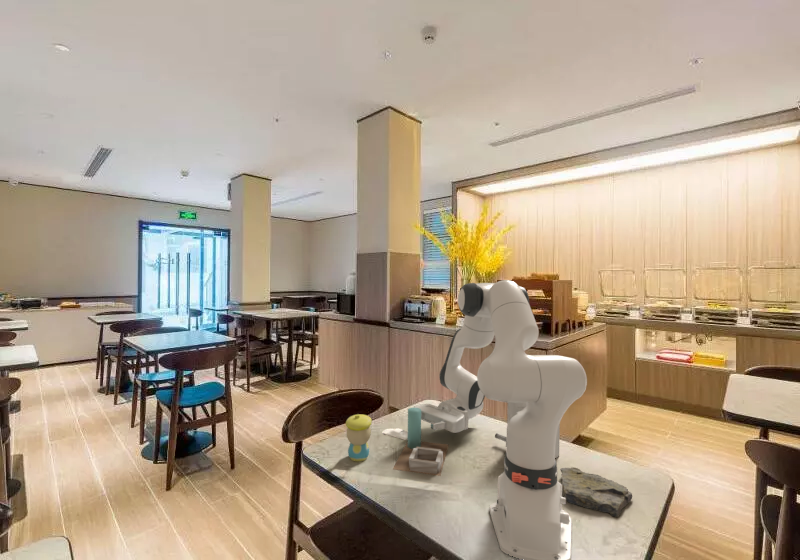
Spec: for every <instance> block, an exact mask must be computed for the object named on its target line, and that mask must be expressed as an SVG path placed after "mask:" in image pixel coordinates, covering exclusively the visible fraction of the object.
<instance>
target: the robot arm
mask: <svg viewBox="0 0 800 560" xmlns="http://www.w3.org/2000/svg"><path fill="white" fill-rule="evenodd" d="M457 304H458V309H459V311H460V312H461V314H463V315H464V319H463V324H462V327H461V328H458V329H457V330H456V331H455V332H454V334H453V336H452V339H451V342H450V345H449V348H448V351H447V354H446V358H445V361H444V363H443V366H441V369H440V371H439V382H440V384H441V386H442V387H444V388H446V389H447V390H450V391H451V392H452V393H454V394H455V395H456V397H454V398H450V399H446V400H443V401H441V402H439V404H438V405H433V404H432V403H421V404H418V405H417V404H416V405H414V406H413V407H412V408H419V409H421V421H424V422H426V423H428V424H430V429H431V430H433V431H437V430H445V431H449V432H450V433H453V434H455V433H456V434H457V433H460V432H462V431H465V430H468V429H469V420H471V419H473V418H474V417H476V416H477V415H479V414H480V413H481V412H482V410H483V409H484V400H485V398H486V399H488V400H491V401H496V402H502V403H507V404H508V403H515V402H528V404H527V406H526V407H525V409H524V410H523V411H521V412H520V413H518V414H517V415H515V416H513V417H512V418H511V419H510V421H509V423H508V425H507V426H506V437H507V447H506V452H505V453H504V457H503V459H504V460H503V465H504V466H503V467H504V468H503V469H504V471H503V472H502V473H500V475H498V477H497V497H496V498H497V499H496V502H493V503H491V504H490V505H489V508H488V509H489V510H488V511H489V514H490V518H491V521H492V525H493V528H494V532H495V535H496V539H497V540H498V541H497V542H498V545H499V548H500V551H501V552H503V553H504V554H506V555H508V554H509V555H508V556H510V557H512V556H513V557H512V558H514V557H516V558H515V559H517V558H519V559H518V560H520V559H524V560H572V545H573V543H572V542H573V541H572V540H573V539H572V538H573V537H572V536H573V520H572V517H571V516H570V513H569V512H567V511H566V510H564V509H563V505H566V504H567V503H566V502H567V500H566V498H565V496H564V497H563V488H562V483H561V482H559V481H558V464H557V461H556V459H555V446H556V434H557V429H558V426H559V423H560V424H561V421H562V418H563V417H564V415H565V414H566V412H567V410H568V409H569V408H570V407H571V406H572V404H573V403H574V402H576V401H577V400H578V399H580V398H581V397H582V396H583V395H584V394H585V391H586V389H587V387H588V386H587V385H588V377H587V374H586V370H585V369H584V367H583V365H582V364H581V363H580V362H579V360H578V359H576V358H573V357H569V356H565V355H564V356H563V355H558V354H527V353H526V352H525V351H526V350H528V349H530V348H531V347H533V346H534V344H535V343H536V342H537V341H538V338H539V334H540V333H539V327H538V324H537V321H536V319H535V315H534V313H533V310H532V308H531V305H530V296H529V293H528V292H527V290H526V288H525V287H522V286H520V285H518V284H517V283H516V282H515V281H512V280H508V279H504V280H503V279H501V280H499V281H497V282H482V283H479V282H477V283H475V282H470V283H465V284H464V285H462V287H461V288H460V289H459V292H458V297H457ZM494 339H495V344H494V348H493V350H492V352H491V353H490V355H488V356H487V357H486V358H484V359H483V360H482V361H481V363H480V365H479V367H478V369H477V375H475V374H474V373H471V372H470V371H469V370H468V369H465V368H464V367H463V366H462V364H461V359H462V358H463V357H462V356H463V354H464V350H465V349H475V350H476V349H482V348H485V347H487V346H489V345H490V344H491V343H492V342H493V340H494Z"/></svg>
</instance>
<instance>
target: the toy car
mask: <svg viewBox="0 0 800 560" xmlns="http://www.w3.org/2000/svg"><path fill="white" fill-rule="evenodd" d="M381 433H382V434H384V435H385V436H389V437H393V438H394V437H395V438H396V439H402V440H404V441H408V430H405V429H402V428H399V427H396V428H394V427H393V428H392V427H391V428H386V429H384V430H382V432H381Z"/></svg>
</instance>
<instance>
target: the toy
mask: <svg viewBox="0 0 800 560" xmlns="http://www.w3.org/2000/svg"><path fill="white" fill-rule="evenodd" d="M372 421H373V420H372V418H371V417H370V416H369V415H367V414H359V413H357V414H353V415H350V416H349V417H348V418H347V419H346V421H345V425H346V428H347V429H346V438H347V440H348V442H349V445H348V447H347V448H348V449H347V454H348V457H349V459H350V460H351V461H354V462H363V461H366V460H367V458H368V456H369V455H370V447H369V444H368V442H369V440H370V438H371V434H372V433H371V432H372V429H371V428H372V427H371V425H372Z"/></svg>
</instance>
